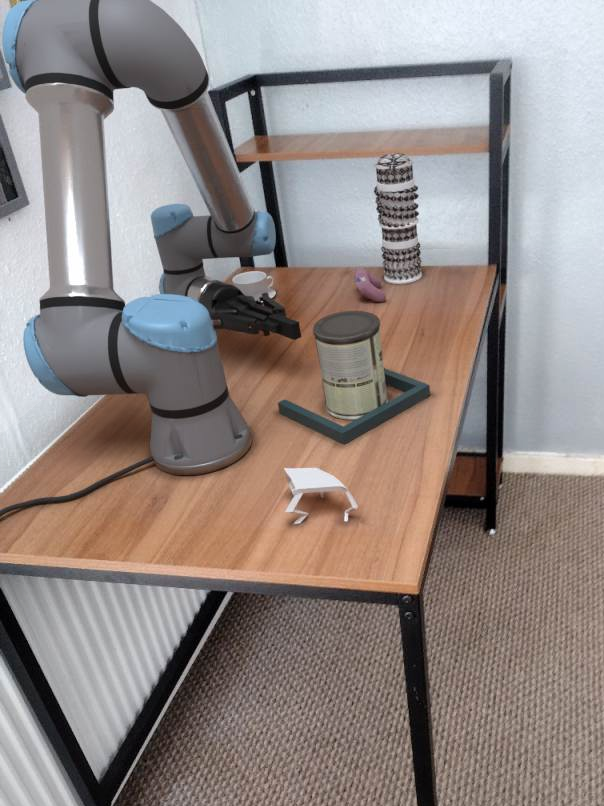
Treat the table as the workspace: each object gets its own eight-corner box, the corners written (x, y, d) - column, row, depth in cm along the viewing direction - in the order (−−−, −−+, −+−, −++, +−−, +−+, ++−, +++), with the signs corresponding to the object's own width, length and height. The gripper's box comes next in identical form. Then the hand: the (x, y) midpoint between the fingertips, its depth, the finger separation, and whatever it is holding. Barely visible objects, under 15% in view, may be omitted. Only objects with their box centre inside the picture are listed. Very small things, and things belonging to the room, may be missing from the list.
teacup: (236, 310, 168) (231, 289, 165) (226, 295, 175) (222, 275, 172) (281, 300, 170) (277, 279, 167) (269, 286, 178) (266, 265, 175)
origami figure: (267, 525, 104) (260, 494, 102) (291, 489, 111) (286, 459, 108) (352, 535, 101) (348, 504, 98) (372, 497, 107) (368, 467, 104)
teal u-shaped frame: (279, 413, 129) (277, 402, 128) (364, 370, 139) (362, 359, 138) (344, 444, 119) (342, 433, 118) (430, 395, 129) (429, 384, 128)
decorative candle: (397, 287, 169) (387, 164, 155) (374, 277, 176) (362, 157, 161) (432, 276, 173) (425, 154, 158) (408, 266, 180) (399, 148, 165)
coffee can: (318, 398, 132) (305, 318, 124) (377, 384, 134) (368, 305, 126) (334, 426, 124) (322, 343, 116) (396, 411, 126) (388, 328, 118)
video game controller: (365, 295, 172) (347, 268, 168) (382, 283, 171) (365, 256, 167) (369, 312, 164) (351, 284, 160) (388, 300, 163) (369, 272, 159)
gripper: (249, 309, 151) (329, 338, 137) (192, 333, 145) (269, 365, 130) (241, 271, 147) (323, 296, 132) (182, 293, 140) (261, 322, 125)
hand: (296, 330), depth 131 cm, fingers closed
